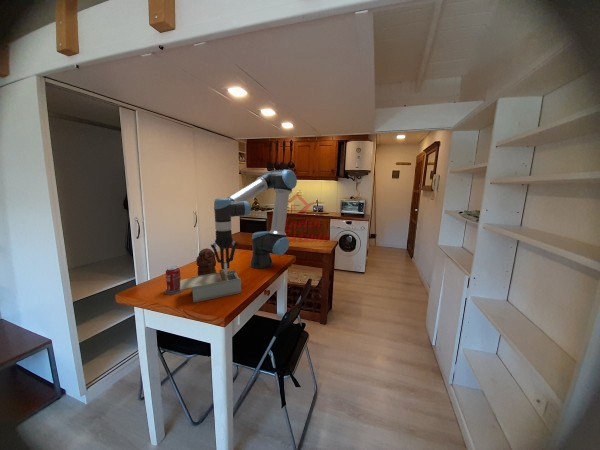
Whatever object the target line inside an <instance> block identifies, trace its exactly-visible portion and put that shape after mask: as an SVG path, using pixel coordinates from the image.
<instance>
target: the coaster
mask: <svg viewBox="0 0 600 450" xmlns="http://www.w3.org/2000/svg"><path fill="white" fill-rule="evenodd" d="M184 291H185V290H183V291H180V290H178V291H176V292H170V291H168V290H167V288H166V289H165V290H164V295H167V296H173V295H177V294H181V293H182V292H184Z"/></svg>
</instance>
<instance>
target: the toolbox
mask: <svg viewBox="0 0 600 450" xmlns="http://www.w3.org/2000/svg"><path fill="white" fill-rule="evenodd" d="M227 272H228V275H227V277H228V279H229V280H228V281H222V282H216V283H211V284H205V285H200V286H194V287H192V289H191V290H192V291H191V292H192V294H191V295H192V300H193V301H192V303H199V302H202V301H208V300H212V299H217V298H221V297H227V296H231V295H232V296H233V295H236V294H241V293H242V279H241V277H239V276H238V274H237V272H236V269H234V270H227ZM214 274H220V272H216V273H214ZM214 274H207V275H201V276H198V275H196V276H191V277H190V278H196V277H202V276H208V275H214Z"/></svg>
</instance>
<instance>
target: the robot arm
mask: <svg viewBox="0 0 600 450" xmlns="http://www.w3.org/2000/svg"><path fill="white" fill-rule="evenodd" d="M297 184H298V180H297V176H296V174H295V172H294V171H293V170H291V169H274V170H273V169H272V170H270V171H267V172H265V173H263V174H262V175H260V176H258V177H257V178H256V180H255V181H253V182H251V183H249V184H248V185H246V186H245V187H243V188H241V189H240V190H238V191H237V192H235V193H233V194H231V195H230V196H228V197H227V198H225V197H224V198H221V197H220V198H215V199H214V203H213V205H214V206H213V209H214V210H213V211H214V226H215V227H214V229H215V240H214V242H213V243H211V244H210V247H211V248H212V251H213V252H214V254H215V260H216V263H217V264H218V263H219V264H220V267H221V268H220V269H221V270H222V269H223V271H224V273H225V275H226V276H227V275H228V272H227V271H228V269H230V262H232V261H234V256H235V251H236V247H237V245H238V242H237V241H236V240H235V241H234V239H233V237H232V236H233V234H232V218H233V217H244V216H247V215H248V216H249V214H251V211H252V207H251V204H250V202H248V201H249V200H251V199H252V198H254V197H255V196H257V195H258V194H260V193H261V192H266V191H268V190H270V189H273V191H274V193H275V197H274V202H273V203H274V205H273V212H272V218H271V219H272V220H271V228H270V230H267V231H256V232H254V233H252V235H251V245H252V246H251V247H252V255H251V259H250V262H249V264H250V267H251V268H253V269H257V270H259V269H268V268H270V267H272V266H273V259H272V255H271V254H273V255H275V256H282V255H284V254H285V253H286V252H287V251H288V250H289V247H290V241H289V239H288V237H287V233H286V231H285V230H286V220H287V215H288V214H287V213H288V206H289V197H290V194H292V191H293V189H295V187H296V186H297ZM231 245H232V246H231ZM217 246H218V247H219V251H220V252H218V250H217ZM230 246H231V249H230ZM224 250H225V251H224ZM230 250H231V251H230ZM224 252H225V254H224ZM218 253H220V256H219V254H218ZM224 255H225V256H224Z"/></svg>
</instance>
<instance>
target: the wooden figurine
mask: <svg viewBox="0 0 600 450" xmlns="http://www.w3.org/2000/svg"><path fill="white" fill-rule="evenodd" d="M195 261H196V266H197V276H201V275H207V274H214V273H217V270H216V266H217V259H216V256H215V253H214V250H213V249H211V248H208V247H207V248H202V249H201V250H200V251H199V252H198V256H197V257H196V260H195Z"/></svg>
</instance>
